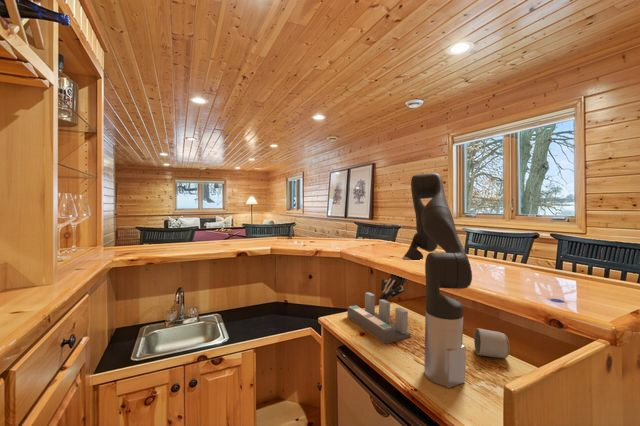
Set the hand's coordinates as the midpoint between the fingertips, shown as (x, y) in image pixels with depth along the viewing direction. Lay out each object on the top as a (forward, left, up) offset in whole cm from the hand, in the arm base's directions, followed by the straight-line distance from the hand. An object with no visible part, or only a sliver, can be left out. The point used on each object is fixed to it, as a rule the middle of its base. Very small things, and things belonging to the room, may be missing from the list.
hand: (380, 301), depth 122 cm
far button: (0, +5, -3) cm, 6 cm away
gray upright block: (-10, +5, -3) cm, 11 cm away
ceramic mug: (-40, -11, -5) cm, 42 cm away
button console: (-10, +9, -5) cm, 14 cm away
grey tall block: (-19, +5, -3) cm, 20 cm away
